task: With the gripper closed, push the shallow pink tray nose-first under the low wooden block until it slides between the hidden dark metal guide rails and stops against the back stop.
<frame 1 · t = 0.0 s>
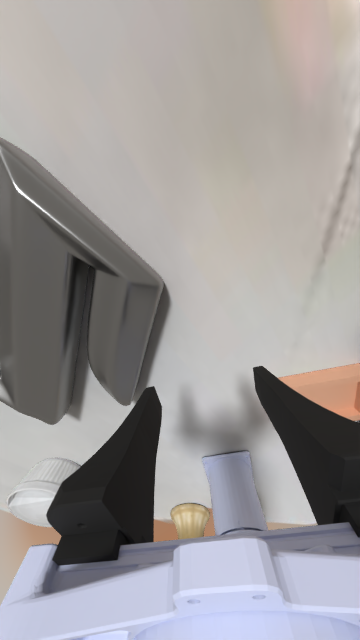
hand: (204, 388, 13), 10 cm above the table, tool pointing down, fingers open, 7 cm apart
shallow pink tray: (313, 393, 26), on the table
ramekin: (62, 470, 34), on the table
hand bell: (190, 512, 39), on the table
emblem: (56, 310, 23), on the table
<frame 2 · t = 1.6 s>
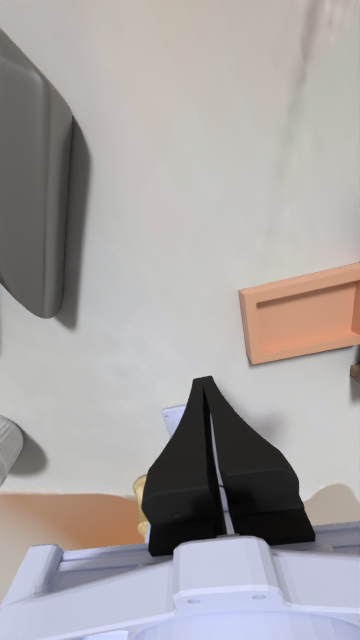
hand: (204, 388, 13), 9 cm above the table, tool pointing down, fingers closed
shallow pink tray: (298, 312, 20), on the table
hand bell: (157, 486, 33), on the table
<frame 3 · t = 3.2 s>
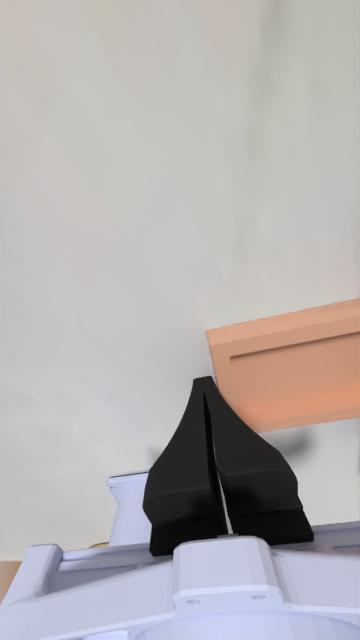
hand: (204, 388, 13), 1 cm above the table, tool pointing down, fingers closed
shallow pink tray: (296, 361, 14), on the table, touching gripper
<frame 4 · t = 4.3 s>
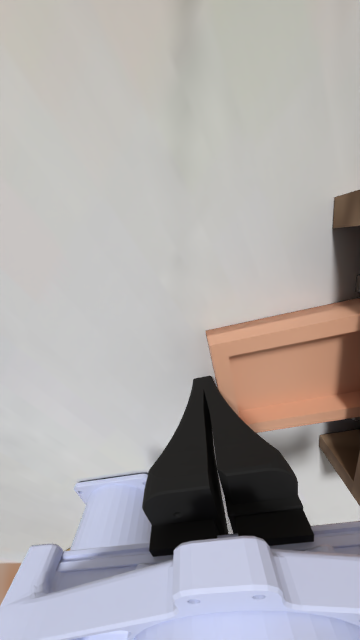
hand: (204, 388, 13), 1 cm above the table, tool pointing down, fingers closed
shallow pink tray: (296, 361, 14), on the table, touching gripper
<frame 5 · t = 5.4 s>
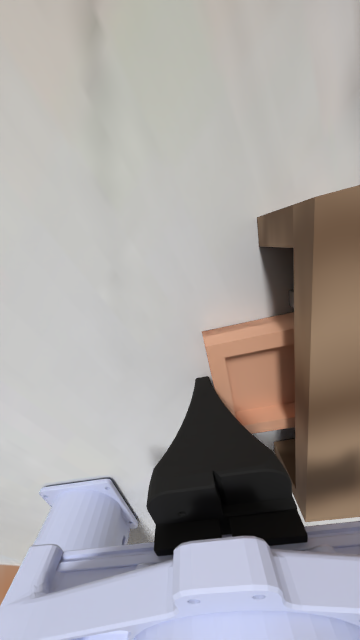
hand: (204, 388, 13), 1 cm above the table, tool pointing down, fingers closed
shallow pink tray: (293, 362, 13), on the table, touching gripper, wooden block
wooden block: (332, 354, 13), on the table
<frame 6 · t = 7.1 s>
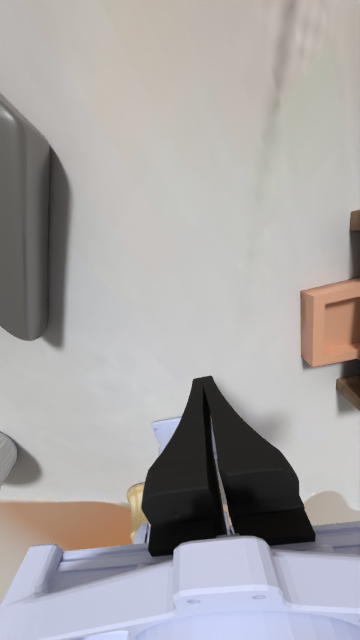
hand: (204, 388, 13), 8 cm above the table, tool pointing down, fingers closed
hand bell: (150, 493, 33), on the table
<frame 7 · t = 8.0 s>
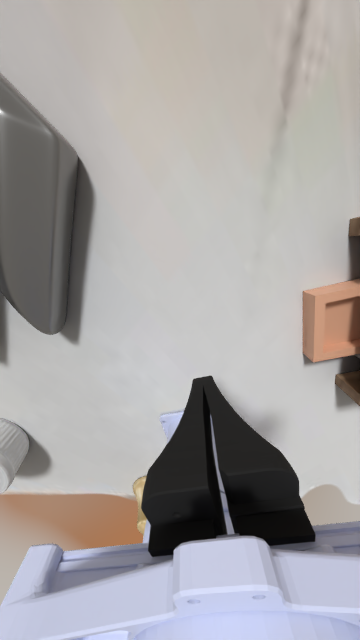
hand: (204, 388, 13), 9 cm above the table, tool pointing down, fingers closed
shallow pink tray: (357, 312, 21), on the table
ramekin: (2, 434, 30), on the table
hand bell: (155, 486, 35), on the table
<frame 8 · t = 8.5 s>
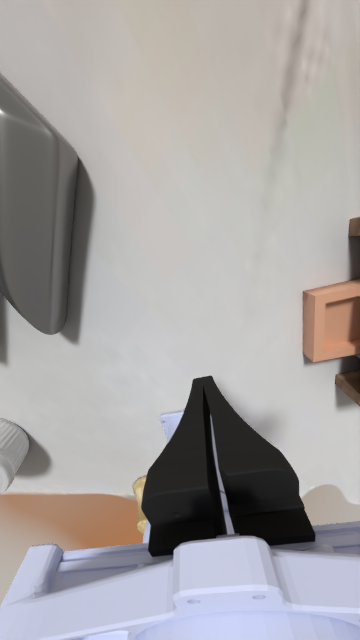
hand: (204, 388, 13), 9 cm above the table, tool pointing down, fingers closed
shallow pink tray: (357, 312, 21), on the table
ramekin: (2, 434, 30), on the table
hand bell: (155, 486, 35), on the table
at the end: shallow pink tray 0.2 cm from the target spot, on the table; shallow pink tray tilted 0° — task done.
